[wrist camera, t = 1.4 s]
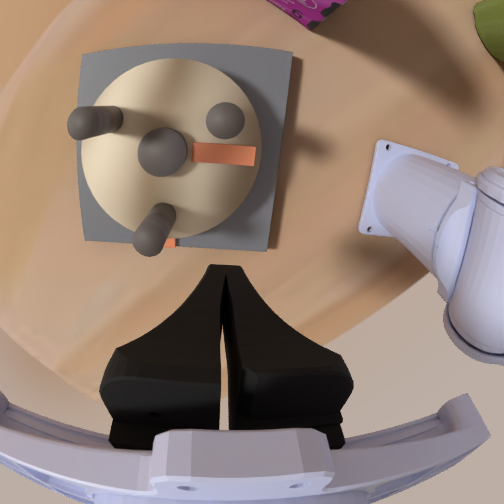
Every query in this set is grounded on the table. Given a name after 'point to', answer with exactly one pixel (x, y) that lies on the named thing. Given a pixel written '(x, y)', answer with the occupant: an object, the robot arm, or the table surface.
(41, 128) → the table surface
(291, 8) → the candy bar box
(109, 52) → the stand
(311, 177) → the table surface
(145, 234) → the capstan wheel
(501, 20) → the plant pot
